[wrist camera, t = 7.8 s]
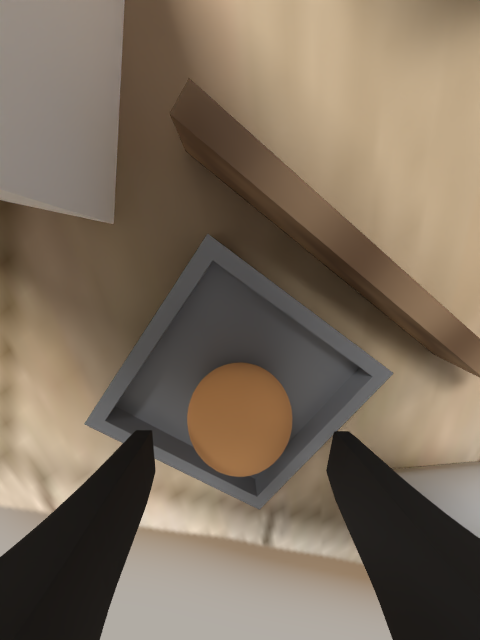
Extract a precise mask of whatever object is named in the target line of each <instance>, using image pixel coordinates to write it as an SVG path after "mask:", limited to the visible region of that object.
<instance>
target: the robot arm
mask: <svg viewBox="0 0 480 640" xmlns="http://www.w3.org/2000/svg"><path fill="white" fill-rule="evenodd" d="M326 471H327V474H328V478H329V481H330V484H331V487H332V490H333V493H334V496H335V499H336V502H337V504H338V507H339V509H340V511H341V514H342V516H343V518H344V521H345V523H346V525H347V528H348V530H349V532H350V535H351V537H352V539H353V541H354V544H355V546H356V548H357V550H358V553H359V555H360V557H361V560H362V562H363V564H364V566H365V569H366V571H367V573H368V575H369V578H370V580H371V583H372V585H373V587H374V590H375V592H376V595H377V597H378V600H379V602H380V605H381V608H382V611H383V614H384V616H385V619H386V622H387V625H388V628H389V630H390V633H391V636H392V639H393V640H480V538H478V537H477V536H476V535H474V534H473V533H472V532H470V531H469V530H468V529H466V528H465V527H463V526H462V525H461V524H459V523H458V522H457V521H455V520H454V519H453V518H451V517H450V516H449V515H447V514H446V513H445V512H444V511H442V510H441V509H440V508H439V507H437V506H436V505H435V504H433V503H432V502H431V501H430V500H428V499H427V498H426V497H425V496H423V495H422V494H421V493H420V492H419V491H417V490H416V489H415V488H414V487H412V486H411V485H410V484H409V483H408V482H406V481H405V480H404V479H403V478H402V477H401V476H399V475H398V474H397V473H396V472H395V471H394V470H392V469H391V468H390V467H389V466H388V465H387V464H386V463H384V462H383V461H382V460H381V459H380V458H379V457H378V456H376V455H375V454H374V453H373V452H372V451H371V450H370V449H369V448H367V447H366V446H365V445H364V444H363V443H362V442H361V441H359V440H358V439H357V438H356V437H355V436H354V435H352V434H351V433H350V432H347V431H334V434H333V440H332V445H331V450H330V455H329V460H328V465H327V470H326ZM154 475H155V459H154V447H153V434H152V430H136V431H135V432H134V433H133V434H132V435H131V436H130V437H129V438H128V439H127V440H126V441H125V442H124V443H123V444H122V445H121V446H120V447H119V448H118V449H117V450H116V451H115V452H114V453H113V455H112V456H111V457H110V458H109V459H108V460H107V461H106V462H105V463H104V464H103V465H102V466H101V467H100V468H99V469H98V470H97V471H96V472H95V473H94V474H93V475H92V476H91V477H90V478H89V479H88V480H87V481H86V482H85V483H84V484H83V485H82V486H81V487H80V488H78V489H77V490H76V491H75V492H74V493H73V494H72V495H71V496H70V497H69V498H68V499H67V500H66V501H64V502H63V503H62V504H61V505H60V506H59V507H58V508H57V509H56V510H55V511H54V512H53V513H52V514H50V515H49V516H48V517H47V518H46V519H45V520H44V521H43V522H41V523H40V524H39V525H38V526H37V527H36V528H35V529H33V530H32V531H31V532H30V533H29V534H28V535H26V536H25V537H24V538H23V539H22V540H20V541H19V542H18V543H17V544H16V545H14V546H13V547H12V548H11V549H10V550H8V551H7V552H6V553H5V554H4V555H2V556H1V557H0V640H100V636H101V633H102V629H103V626H104V623H105V619H106V616H107V613H108V609H109V607H110V604H111V601H112V597H113V594H114V592H115V588H116V586H117V583H118V581H119V578H120V575H121V572H122V570H123V567H124V564H125V562H126V559H127V556H128V553H129V551H130V548H131V545H132V543H133V540H134V537H135V534H136V532H137V529H138V526H139V524H140V521H141V518H142V515H143V513H144V510H145V507H146V504H147V501H148V498H149V494H150V490H151V487H152V483H153V479H154Z"/></svg>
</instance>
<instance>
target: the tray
mask: <svg viewBox="0 0 480 640" xmlns="http://www.w3.org/2000/svg"><path fill="white" fill-rule="evenodd" d="M239 362H241V363H249V364H254V365H257V366H259V367H261V368H263V369H265V370H267V371H268V372H270V373H271V374H272V375H273V376H274V377H275V378H276V379H277V380H278V381H279V382H280V383H281V385H282V386H283V388H284V389H285V391H286V393H287V396H288V398H289V401H290V405H291V409H292V430H291V435H290V438H289V441H288V444H287V446H286V448H285V450H284V451H283V453H282V454H281V456H280V457H279V458H278V459H277V460H276V461H275V463H274V464H272V465H271V466H270V467H269V468H267V469H266V470H264V471H262V472H260V473H257V474H254V475H251V476H245V477H235V476H229V475H225V474H222V473H220V472H218V471H216V470H214V469H213V468H211V467H210V466H208V465H207V464H206V463H205V462H204V461H203V460H202V459H201V458H200V456H199V455H198V454H197V452H196V451H195V449H194V447H193V444H192V442H191V440H190V436H189V432H188V426H187V413H188V407H189V403H190V400H191V397H192V395H193V392H194V391H195V389H196V387H197V386H198V384H199V383H200V382H201V380H202V379H203V378H204V377H205V376H206V375H208V374H209V373H210V372H211V371H213V370H215V369H216V368H218V367H221V366H223V365H226V364H230V363H239ZM392 374H393V372H391V371H390V370H389V369H387V368H386V367H385V366H383V365H382V364H381V363H379V362H378V361H377V360H375V359H374V358H373V357H371V356H370V355H369V354H367V353H366V352H365V351H363V350H362V349H361V348H359V347H358V346H357V345H355V344H354V343H353V342H351V341H350V340H349V339H347V338H346V337H345V336H343V335H342V334H341V333H339V332H338V331H337V330H335V329H334V328H333V327H331V326H330V325H329V324H327V323H326V322H325V321H323V320H322V319H321V318H319V317H318V316H317V315H315V314H314V313H313V312H311V311H310V310H309V309H307V308H306V307H305V306H303V305H302V304H301V303H299V302H298V301H297V300H295V299H294V298H293V297H291V296H290V295H289V294H287V293H286V292H285V291H283V290H282V289H281V288H279V287H278V286H277V285H275V284H274V283H273V282H271V281H270V280H269V279H267V278H266V277H265V276H263V275H262V274H261V273H259V272H258V271H257V270H255V269H254V268H253V267H251V266H250V265H249V264H247V263H246V262H245V261H243V260H242V259H241V258H239V257H238V256H237V255H235V254H234V253H233V252H231V251H230V250H229V249H227V248H226V247H225V246H223V245H222V244H221V243H219V242H218V241H217V240H216V239H214V238H213V237H212V236H210V235H209V234H207V235H206V237H205V238H204V240H203V242H202V243H201V245H200V246H199V248H198V249H197V251H196V252H195V254H194V255H193V257H192V259H191V260H190V262H189V263H188V265H187V266H186V268H185V269H184V271H183V272H182V274H181V276H180V277H179V279H178V280H177V282H176V283H175V285H174V286H173V288H172V289H171V291H170V293H169V294H168V296H167V297H166V299H165V300H164V302H163V303H162V305H161V306H160V308H159V309H158V311H157V313H156V314H155V316H154V317H153V319H152V320H151V322H150V323H149V325H148V326H147V328H146V330H145V331H144V333H143V334H142V336H141V337H140V339H139V340H138V342H137V343H136V345H135V347H134V348H133V350H132V351H131V353H130V354H129V356H128V357H127V359H126V360H125V362H124V363H123V365H122V367H121V368H120V370H119V371H118V373H117V374H116V376H115V377H114V379H113V380H112V382H111V384H110V385H109V387H108V388H107V390H106V391H105V393H104V394H103V396H102V397H101V399H100V401H99V402H98V404H97V405H96V407H95V408H94V410H93V411H92V413H91V414H90V416H89V417H88V419H87V421H86V422H85V425H87V426H89V427H91V428H93V429H95V430H97V431H99V432H101V433H103V434H105V435H108V436H110V437H112V438H114V439H116V440H118V441H120V442H122V443H124V442H125V441H126V440H127V439H128V438H129V437H130V436H131V435H132V434H133V433H134V432H135V431H136V430H152V434H153V447H154V458H155V459H157V460H159V461H161V462H163V463H165V464H167V465H169V466H171V467H173V468H175V469H177V470H179V471H181V472H183V473H185V474H187V475H190V476H192V477H194V478H196V479H198V480H200V481H202V482H204V483H206V484H208V485H210V486H212V487H214V488H216V489H218V490H220V491H222V492H224V493H226V494H228V495H231V496H233V497H235V498H237V499H239V500H241V501H243V502H245V503H247V504H249V505H251V506H253V507H255V508H257V509H259V510H260V508H261V507H262V506H263V505H264V504H265V503H266V502H267V501H268V500H269V499H270V498H271V497H272V496H273V495H274V494H275V493H276V492H277V491H278V490H279V489H280V488H281V487H282V486H283V485H284V484H285V483H286V482H287V481H288V480H289V479H290V478H291V477H292V476H293V475H294V474H295V473H296V472H297V471H298V470H299V469H300V468H301V467H302V466H303V465H304V464H305V463H306V462H307V461H308V460H309V459H310V458H311V457H312V456H313V455H314V454H315V453H316V452H317V451H318V450H319V449H320V448H321V447H322V446H323V444H324V443H325V442H326V441H327V440H328V439H329V438H330V437H331V436H332V435H333V434H334V431H337V430H338V429H339V428H340V427H341V426H342V425H343V424H344V423H345V422H346V421H347V420H348V419H349V418H350V417H351V416H352V415H353V414H354V413H355V412H356V411H357V410H358V409H359V408H360V407H361V406H362V405H363V404H364V403H365V402H366V401H367V400H368V399H369V398H370V397H371V396H372V395H373V394H374V393H375V392H376V391H377V390H378V389H379V388H380V387H381V386H382V385H383V384H384V383H385V381H386V380H387V379H388V378H389V377H390V376H391V375H392Z"/></svg>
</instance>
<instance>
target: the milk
mask: <svg viewBox="0 0 480 640" xmlns="http://www.w3.org/2000/svg"><path fill="white" fill-rule="evenodd" d="M124 3H125V0H0V200H2V201H7V202H11V203H16V204H21V205H25V206H30V207H35V208H39V209H44V210H49V211H53V212H58V213H63V214H68V215H72V216H77V217H82V218H86V219H91V220H96V221H100V222H105V223H110V224H114V210H115V189H116V169H117V148H118V127H119V107H120V86H121V65H122V45H123V24H124Z"/></svg>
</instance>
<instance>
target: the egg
mask: <svg viewBox="0 0 480 640" xmlns="http://www.w3.org/2000/svg"><path fill="white" fill-rule="evenodd" d="M187 426H188V432H189V436H190V440H191V442H192V444H193V447H194V449H195V451H196V452H197V454H198V455H199V456H200V458H201V459H202V460H203V461H204V462H205V463H206V464H207V465H208V466H210V467H211V468H213V469H214V470H216V471H218V472H220V473H222V474H225V475H229V476H235V477H245V476H251V475H254V474H257V473H260V472H262V471H264V470H266V469H267V468H269V467H270V466H271V465H272V464H274V463H275V461H276V460H277V459H278V458H279V457H280V456H281V454H282V453H283V451H284V450H285V448H286V446H287V444H288V441H289V438H290V435H291V430H292V409H291V405H290V401H289V398H288V396H287V393H286V391H285V389H284V388H283V386H282V385H281V383H280V382H279V381H278V380H277V379H276V378H275V377H274V376H273V375H272V374H271V373H270V372H268V371H267V370H265V369H263V368H261V367H259V366H257V365H254V364H249V363H241V362H239V363H230V364H226V365H223V366H221V367H218V368H216V369H215V370H213V371H211V372H210V373H209V374H208V375H206V376H205V377H204V378H203V379H202V380H201V382H200V383H199V384H198V386H197V387H196V389H195V391H194V392H193V395H192V397H191V400H190V403H189V407H188V413H187Z"/></svg>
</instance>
